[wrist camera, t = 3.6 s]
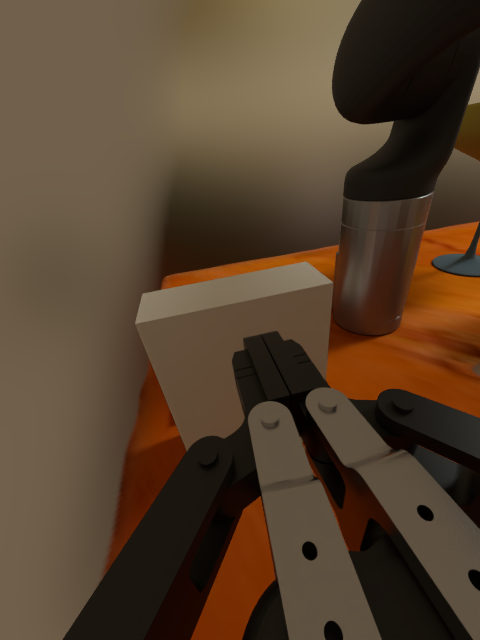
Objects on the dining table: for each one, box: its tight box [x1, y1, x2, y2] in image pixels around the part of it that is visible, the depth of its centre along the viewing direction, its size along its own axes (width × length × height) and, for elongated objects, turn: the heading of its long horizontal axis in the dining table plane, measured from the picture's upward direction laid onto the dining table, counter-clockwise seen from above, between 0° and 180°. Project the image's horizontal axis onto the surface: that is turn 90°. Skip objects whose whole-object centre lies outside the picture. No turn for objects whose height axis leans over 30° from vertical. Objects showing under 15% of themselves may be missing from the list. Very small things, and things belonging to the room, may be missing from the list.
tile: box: [135, 262, 333, 451], centre depth 22 cm, size 4×12×16 cm, turn 102°
